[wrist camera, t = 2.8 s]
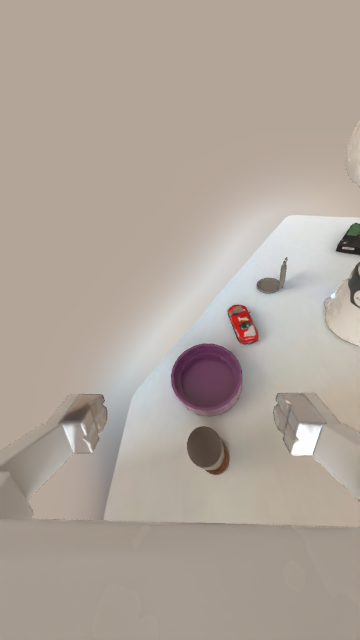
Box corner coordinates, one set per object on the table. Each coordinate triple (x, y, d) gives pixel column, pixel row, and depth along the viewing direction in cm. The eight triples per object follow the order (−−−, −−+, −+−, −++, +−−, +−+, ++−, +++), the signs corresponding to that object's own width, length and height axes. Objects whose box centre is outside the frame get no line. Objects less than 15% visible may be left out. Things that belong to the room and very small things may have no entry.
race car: (226, 311, 57) (225, 301, 54) (244, 307, 56) (244, 297, 53) (238, 347, 48) (237, 338, 45) (260, 343, 47) (261, 333, 44)
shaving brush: (219, 434, 37) (210, 418, 28) (235, 465, 33) (231, 456, 25) (195, 448, 36) (179, 436, 28) (209, 481, 33) (196, 478, 24)
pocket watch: (252, 284, 61) (253, 257, 54) (277, 275, 61) (282, 247, 54) (265, 300, 56) (268, 272, 48) (293, 290, 55) (300, 261, 48)
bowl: (218, 343, 50) (216, 333, 47) (257, 393, 40) (258, 385, 37) (167, 371, 49) (162, 363, 45) (193, 431, 38) (189, 425, 35)
